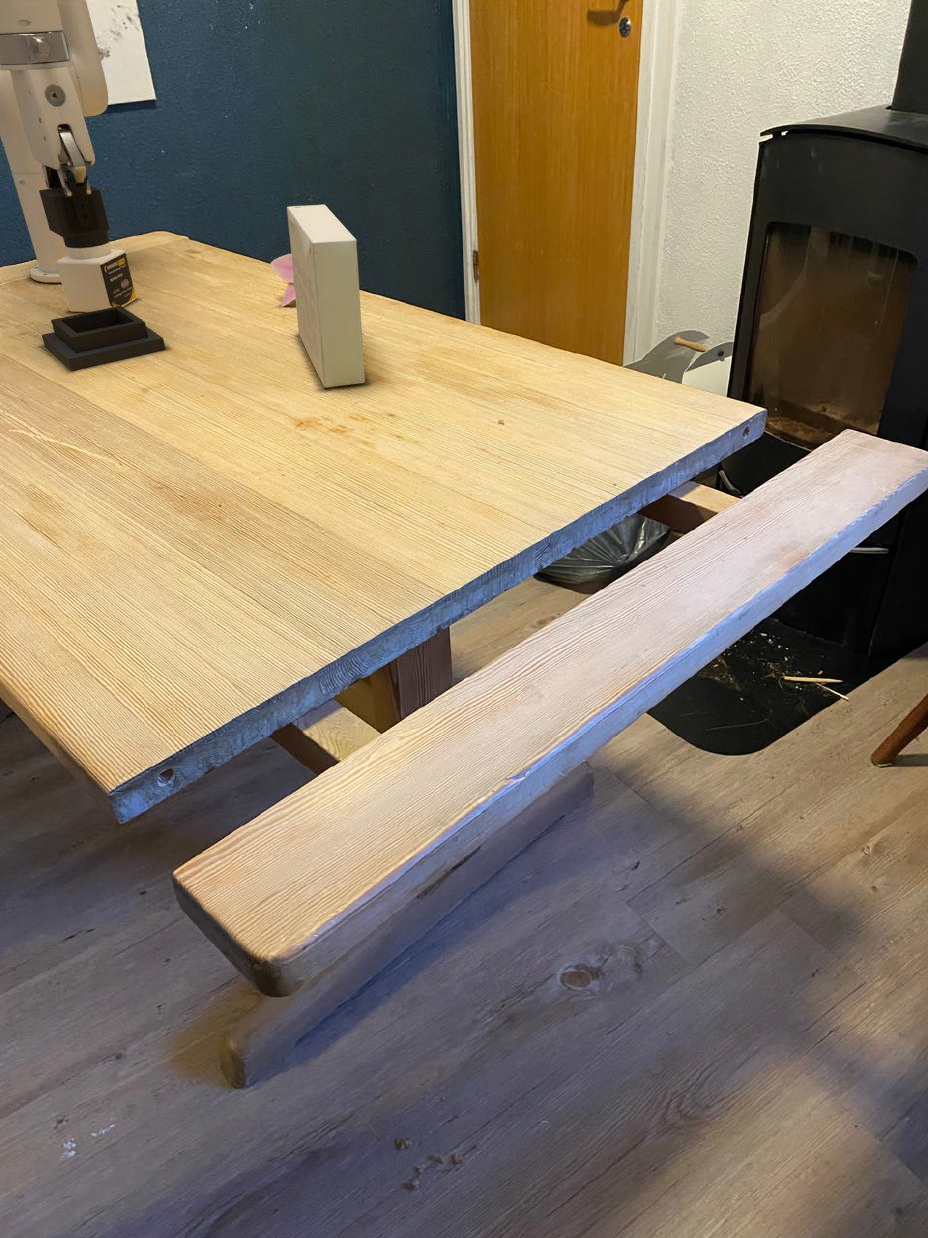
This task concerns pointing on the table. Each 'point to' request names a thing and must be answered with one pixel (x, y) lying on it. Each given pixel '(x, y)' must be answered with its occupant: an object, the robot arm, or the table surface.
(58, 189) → the black block
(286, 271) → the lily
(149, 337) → the base pad
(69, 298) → the medicine bottle
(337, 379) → the skincare box
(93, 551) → the table surface
